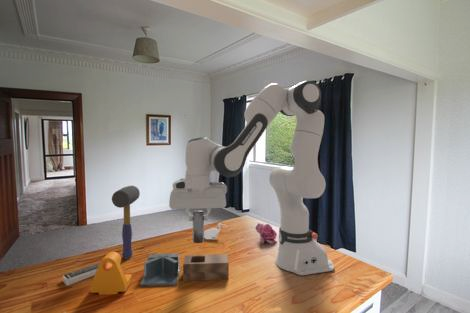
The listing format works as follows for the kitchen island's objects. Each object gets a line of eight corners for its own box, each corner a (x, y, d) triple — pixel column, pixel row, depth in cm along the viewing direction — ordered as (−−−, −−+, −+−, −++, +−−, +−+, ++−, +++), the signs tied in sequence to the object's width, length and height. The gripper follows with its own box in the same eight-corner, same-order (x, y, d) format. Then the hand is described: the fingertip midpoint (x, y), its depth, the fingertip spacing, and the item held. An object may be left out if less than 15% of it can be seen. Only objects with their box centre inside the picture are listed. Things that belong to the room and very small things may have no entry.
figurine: (227, 238, 132) (227, 221, 131) (227, 241, 127) (227, 224, 127) (199, 238, 131) (200, 221, 130) (199, 241, 126) (199, 224, 126)
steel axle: (204, 238, 96) (204, 209, 95) (203, 243, 92) (203, 212, 91) (193, 239, 96) (193, 210, 95) (192, 243, 92) (192, 213, 91)
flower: (278, 247, 127) (282, 235, 121) (260, 251, 124) (262, 239, 118) (270, 228, 135) (273, 216, 129) (252, 232, 133) (254, 219, 127)
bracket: (132, 281, 90) (132, 248, 89) (125, 293, 83) (124, 257, 82) (100, 282, 89) (99, 248, 89) (90, 295, 82) (89, 258, 81)
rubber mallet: (130, 265, 102) (129, 190, 100) (111, 265, 102) (109, 189, 100) (141, 251, 114) (141, 184, 112) (125, 251, 114) (123, 184, 112)
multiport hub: (110, 270, 99) (110, 264, 98) (67, 286, 88) (66, 279, 87) (105, 266, 101) (105, 260, 101) (62, 281, 90) (62, 275, 90)
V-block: (180, 267, 100) (180, 252, 100) (176, 285, 88) (176, 268, 88) (148, 269, 99) (148, 253, 98) (140, 286, 87) (140, 269, 87)
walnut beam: (227, 269, 99) (227, 254, 99) (228, 279, 92) (228, 262, 92) (185, 270, 98) (185, 255, 97) (183, 280, 91) (183, 264, 90)
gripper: (226, 180, 97) (226, 216, 98) (170, 181, 95) (171, 218, 96) (227, 183, 90) (227, 222, 91) (168, 184, 89) (168, 223, 89)
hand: (198, 220), depth 93 cm, fingers closed on steel axle, 4 cm apart
